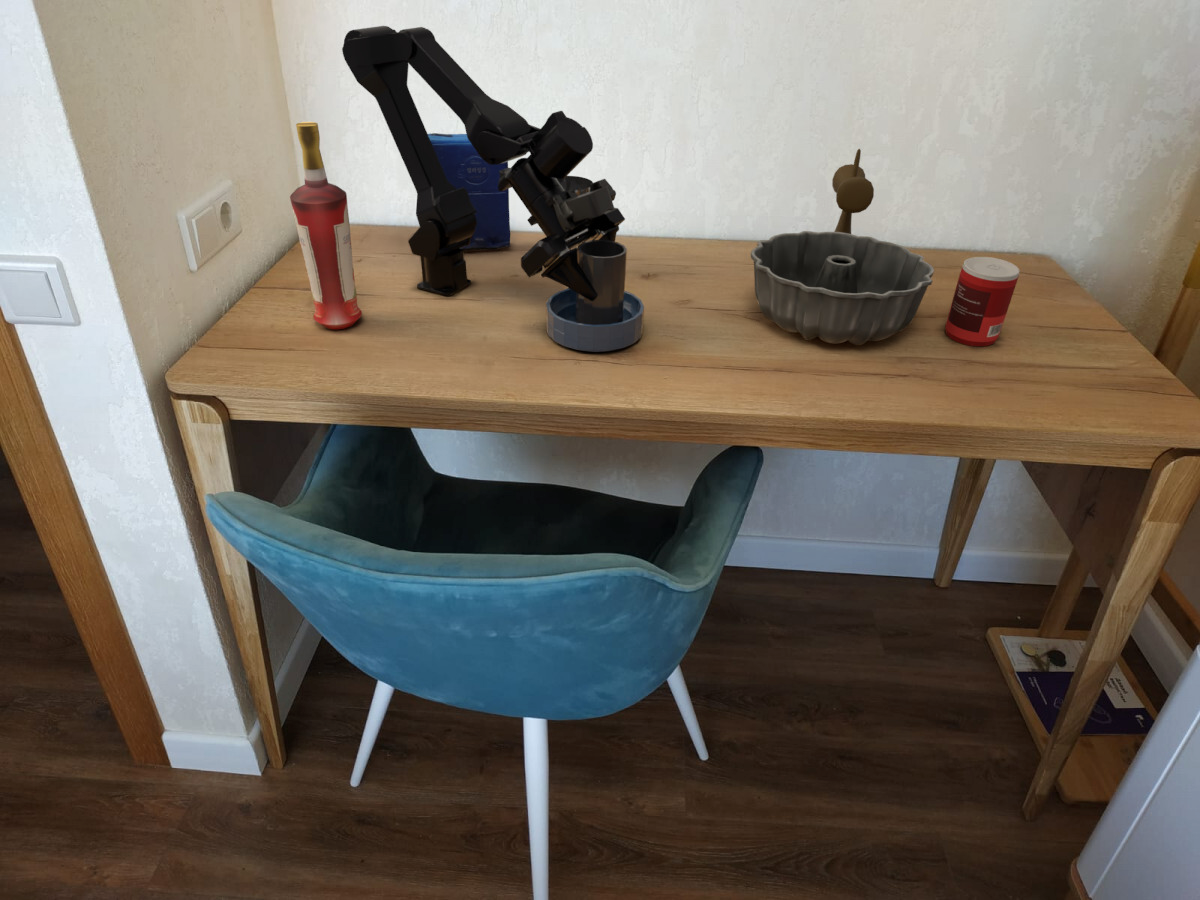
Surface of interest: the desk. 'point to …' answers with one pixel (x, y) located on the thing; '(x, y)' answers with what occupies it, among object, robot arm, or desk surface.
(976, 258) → the canned food
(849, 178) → the kendama
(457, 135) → the blue box
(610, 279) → the cup
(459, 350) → the desk surface
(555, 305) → the bowl
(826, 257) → the bundt pan
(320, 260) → the liquor
